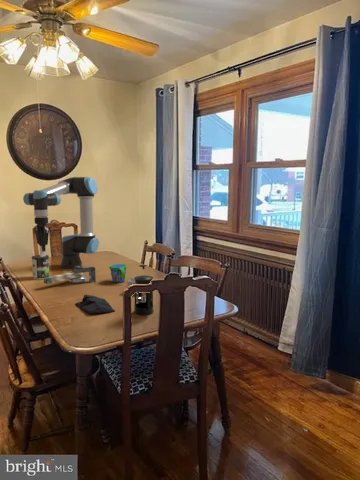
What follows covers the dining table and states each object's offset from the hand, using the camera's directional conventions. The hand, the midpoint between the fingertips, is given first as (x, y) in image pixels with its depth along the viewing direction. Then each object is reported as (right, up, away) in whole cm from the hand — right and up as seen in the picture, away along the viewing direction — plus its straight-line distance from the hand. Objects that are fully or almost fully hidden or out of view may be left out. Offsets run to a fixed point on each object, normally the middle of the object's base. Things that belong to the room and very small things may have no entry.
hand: (43, 256), depth 223 cm
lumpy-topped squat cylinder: (+58, -20, -11) cm, 63 cm away
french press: (+65, -25, -44) cm, 82 cm away
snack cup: (+43, -16, +11) cm, 48 cm away
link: (+11, -14, +4) cm, 19 cm away
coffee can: (-8, -15, +20) cm, 26 cm away
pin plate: (+17, -16, +12) cm, 26 cm away
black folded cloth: (+40, -24, -37) cm, 60 cm away
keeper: (+23, -17, +7) cm, 29 cm away
